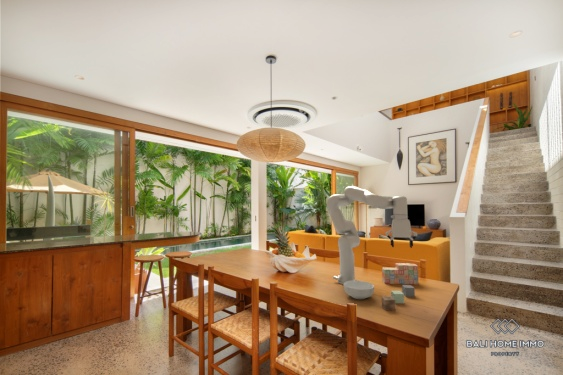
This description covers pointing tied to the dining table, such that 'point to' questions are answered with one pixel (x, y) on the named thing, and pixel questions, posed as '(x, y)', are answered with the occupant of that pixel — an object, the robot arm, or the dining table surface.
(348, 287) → the cereal bowl
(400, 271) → the stack of blocks
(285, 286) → the dining table surface
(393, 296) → the sage green cube
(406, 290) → the gray cube
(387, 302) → the walnut cube
